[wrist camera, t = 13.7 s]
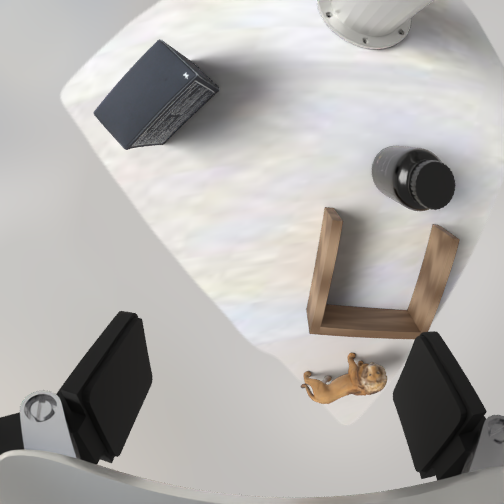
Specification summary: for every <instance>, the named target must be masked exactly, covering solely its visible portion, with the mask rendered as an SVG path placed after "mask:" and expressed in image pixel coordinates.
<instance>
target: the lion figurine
mask: <svg viewBox="0 0 504 504" xmlns="http://www.w3.org/2000/svg"><path fill="white" fill-rule="evenodd" d="M354 358H355V354H354V353H350V354H349V355H348V363H349V370H348V373H349V374H345V375H342V376H340V377H338V378H336V379H335V380H333V381H332V382H331V383H330V384H328V385H327V384H326V382H329V381H331V377H330V376H327V377H325V378H324V379H323V381H320V380H317V379H311V378H308V377H310V376H311V372H309V371H307V372H305V373H304V380H305V383H306V384H308V385H310V386H311V387H312V389H313V393H314V395H313V394H312V392H311V391H310V389H309V387H308V386H307V385H306V384H302V385H301V388H306V390H307V393H308V395H309V397H310V398H311V399H312V400H313V401H315V402H319V403H321V404H329V403H331V402H333V401H335V400H337V399H339V398H341V397H344V396H346V395H349V394H354V395H366V394H367V395H371V394H375V393H377V392H379V391H381V390H382V389H383V388H384V387H385V385H386V382H387V376H386V372H385V369H384V367H382V366H381V365H377V364H375V363H374V362H371V363H369V364H363V362H362V361H359V362H357V364H356V363H355V362H354Z"/></svg>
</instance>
